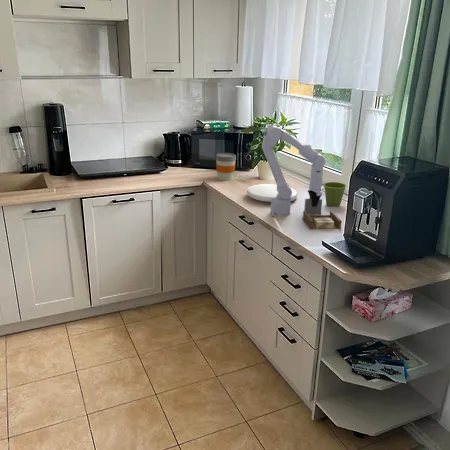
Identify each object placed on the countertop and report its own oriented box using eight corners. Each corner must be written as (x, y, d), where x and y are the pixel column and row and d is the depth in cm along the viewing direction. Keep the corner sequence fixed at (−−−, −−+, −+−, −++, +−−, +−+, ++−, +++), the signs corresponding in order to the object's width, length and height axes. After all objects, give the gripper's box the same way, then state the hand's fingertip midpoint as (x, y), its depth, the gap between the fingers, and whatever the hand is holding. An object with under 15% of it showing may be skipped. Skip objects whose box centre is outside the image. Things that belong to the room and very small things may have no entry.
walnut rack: (310, 231, 210) (311, 221, 208) (302, 220, 223) (303, 210, 221) (340, 231, 211) (341, 220, 210) (331, 220, 224) (332, 210, 223)
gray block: (304, 215, 229) (306, 199, 226) (303, 213, 231) (305, 198, 228) (320, 215, 230) (322, 199, 227) (319, 213, 232) (321, 198, 229)
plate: (283, 181, 271) (307, 194, 248) (281, 192, 273) (305, 206, 250) (240, 180, 260) (261, 193, 237) (238, 191, 262) (259, 206, 239)
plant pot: (327, 200, 254) (330, 180, 250) (348, 205, 247) (350, 184, 243) (317, 205, 245) (319, 184, 241) (337, 210, 238) (340, 189, 234)
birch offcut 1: (314, 226, 214) (315, 220, 213) (313, 224, 216) (313, 218, 214) (331, 225, 214) (332, 219, 213) (330, 224, 216) (330, 218, 215)
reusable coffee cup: (212, 180, 287) (213, 156, 282) (218, 175, 299) (219, 152, 293) (232, 182, 284) (232, 157, 279) (237, 177, 295) (238, 153, 290)
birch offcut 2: (316, 228, 211) (316, 222, 210) (315, 226, 213) (315, 220, 212) (333, 228, 212) (334, 222, 211) (332, 226, 213) (332, 220, 212)
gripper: (328, 182, 218) (325, 210, 222) (320, 174, 231) (317, 200, 236) (314, 182, 217) (311, 210, 222) (306, 174, 230) (303, 201, 235)
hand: (313, 205), depth 229 cm, fingers closed on gray block, 2 cm apart
